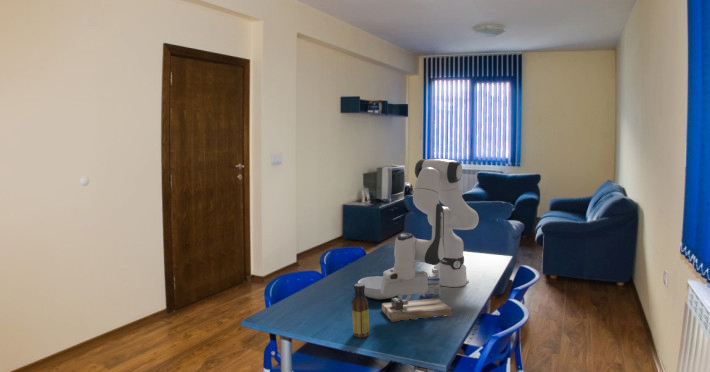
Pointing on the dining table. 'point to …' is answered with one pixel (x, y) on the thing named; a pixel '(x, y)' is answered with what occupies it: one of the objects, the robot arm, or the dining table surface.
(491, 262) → the dining table surface
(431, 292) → the medicine box
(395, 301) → the fader
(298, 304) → the dining table surface
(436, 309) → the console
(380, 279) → the serving bowl
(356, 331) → the sauce bottle
